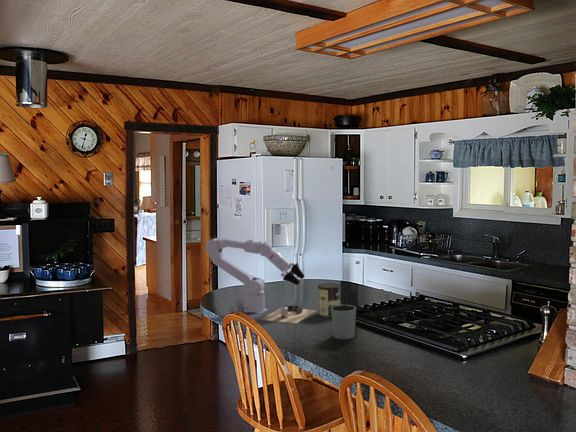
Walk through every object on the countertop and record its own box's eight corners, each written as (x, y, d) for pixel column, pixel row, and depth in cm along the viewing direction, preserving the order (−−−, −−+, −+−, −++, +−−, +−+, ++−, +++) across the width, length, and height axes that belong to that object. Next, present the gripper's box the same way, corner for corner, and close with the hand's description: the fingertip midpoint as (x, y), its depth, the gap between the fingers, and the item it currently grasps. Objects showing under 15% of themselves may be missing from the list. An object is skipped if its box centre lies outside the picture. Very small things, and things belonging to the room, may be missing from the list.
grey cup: (358, 333, 237) (358, 305, 236) (353, 341, 227) (353, 311, 226) (334, 332, 240) (334, 304, 239) (328, 339, 231) (328, 309, 230)
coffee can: (341, 312, 272) (340, 283, 271) (338, 318, 262) (338, 287, 261) (319, 311, 274) (319, 282, 273) (316, 317, 264) (316, 287, 263)
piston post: (280, 318, 262) (279, 308, 262) (282, 316, 265) (282, 306, 265) (286, 318, 261) (286, 308, 260) (289, 316, 264) (289, 307, 263)
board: (260, 320, 260) (260, 319, 260) (282, 308, 282) (281, 307, 282) (296, 324, 253) (296, 323, 253) (316, 311, 275) (316, 310, 275)
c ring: (288, 309, 278) (288, 304, 278) (305, 310, 274) (305, 305, 274) (282, 312, 272) (282, 307, 272) (300, 314, 268) (300, 309, 268)
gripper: (279, 261, 265) (301, 281, 265) (289, 251, 278) (310, 269, 278) (270, 271, 268) (292, 290, 267) (280, 260, 281) (301, 279, 281)
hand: (301, 280), depth 273 cm, fingers open, 7 cm apart
